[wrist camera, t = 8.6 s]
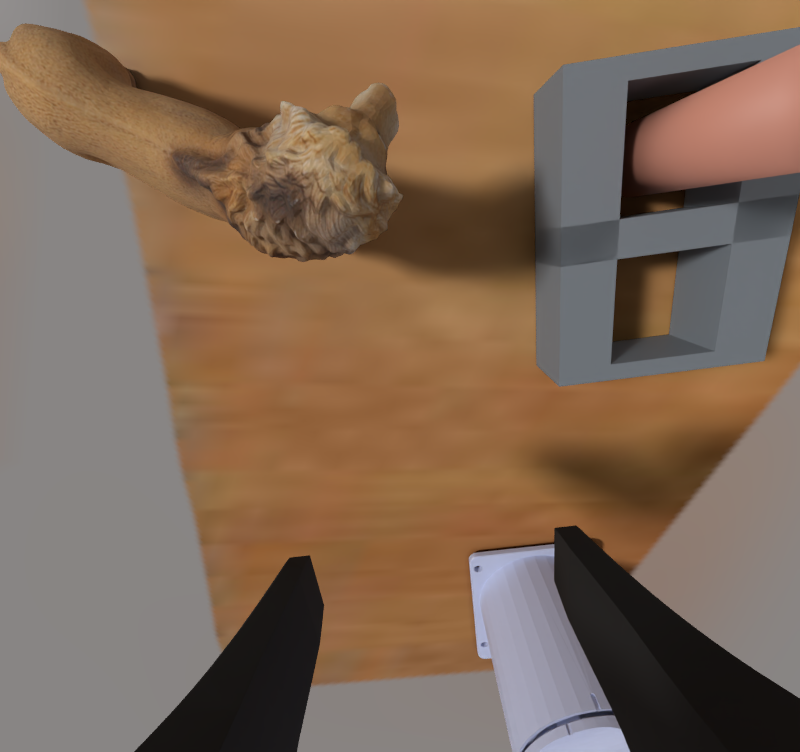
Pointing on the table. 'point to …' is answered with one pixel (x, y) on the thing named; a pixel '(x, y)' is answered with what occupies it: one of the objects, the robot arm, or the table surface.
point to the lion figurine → (215, 147)
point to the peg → (719, 133)
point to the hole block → (650, 223)
